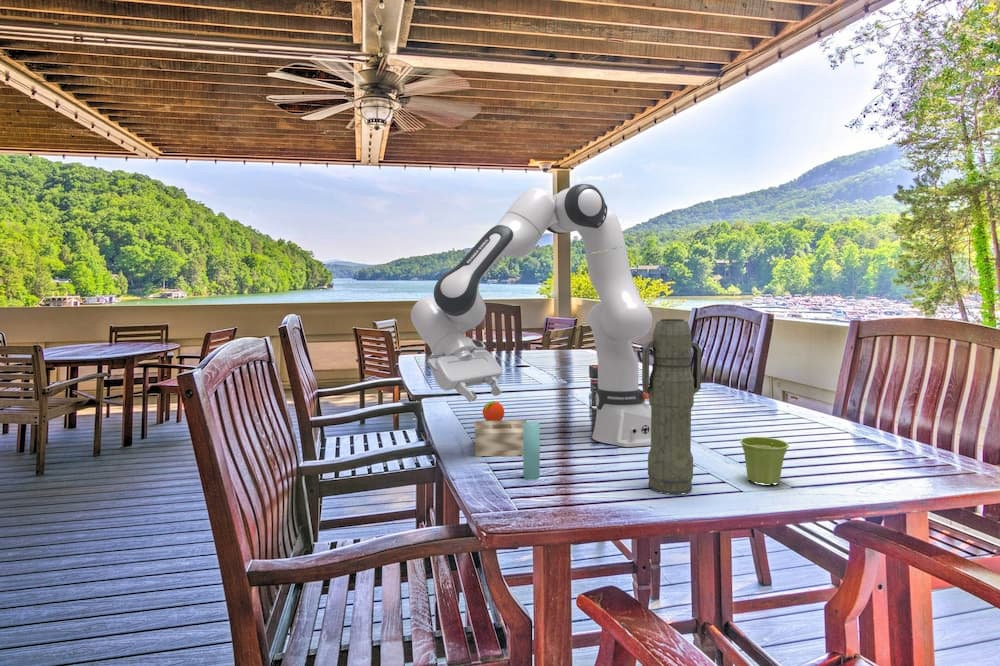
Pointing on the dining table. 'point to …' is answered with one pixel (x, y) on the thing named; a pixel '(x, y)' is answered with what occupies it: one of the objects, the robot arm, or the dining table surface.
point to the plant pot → (764, 458)
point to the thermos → (671, 404)
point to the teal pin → (531, 450)
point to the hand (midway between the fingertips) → (486, 397)
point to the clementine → (493, 411)
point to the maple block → (499, 438)
